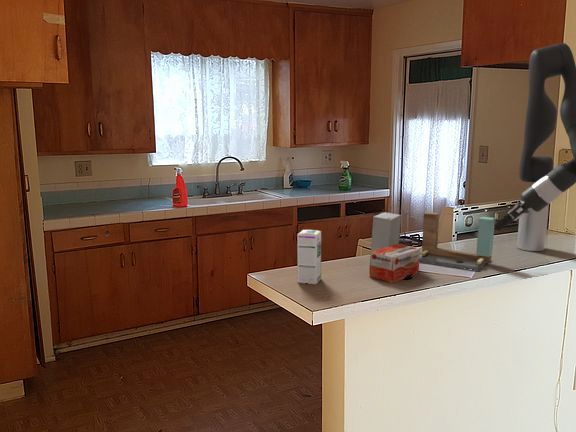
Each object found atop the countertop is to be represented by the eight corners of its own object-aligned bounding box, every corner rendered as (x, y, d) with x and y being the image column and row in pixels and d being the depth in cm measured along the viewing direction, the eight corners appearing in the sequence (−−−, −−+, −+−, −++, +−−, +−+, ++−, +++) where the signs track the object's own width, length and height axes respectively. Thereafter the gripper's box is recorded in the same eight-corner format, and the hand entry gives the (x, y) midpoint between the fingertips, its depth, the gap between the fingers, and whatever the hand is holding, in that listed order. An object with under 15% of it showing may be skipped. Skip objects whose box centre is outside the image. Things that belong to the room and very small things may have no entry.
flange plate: (427, 251, 191) (428, 247, 191) (489, 260, 180) (489, 256, 179) (411, 260, 178) (411, 256, 177) (477, 271, 166) (477, 266, 166)
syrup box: (316, 284, 152) (317, 234, 149) (296, 282, 153) (297, 232, 151) (321, 279, 157) (322, 230, 155) (301, 277, 159) (302, 228, 156)
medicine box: (391, 283, 154) (393, 256, 152) (368, 277, 159) (369, 251, 158) (419, 273, 164) (421, 247, 163) (397, 268, 170) (398, 243, 168)
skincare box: (380, 258, 181) (382, 211, 178) (400, 261, 177) (402, 214, 174) (368, 263, 174) (370, 215, 171) (389, 267, 170) (391, 217, 167)
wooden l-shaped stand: (425, 250, 187) (427, 211, 185) (491, 259, 175) (494, 218, 173) (416, 255, 180) (418, 215, 177) (484, 265, 168) (488, 223, 166)
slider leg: (479, 257, 177) (482, 216, 175) (491, 258, 175) (494, 217, 173) (471, 262, 170) (474, 220, 168) (485, 264, 168) (488, 222, 165)
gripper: (537, 181, 169) (496, 213, 177) (529, 186, 157) (485, 220, 165) (554, 199, 167) (511, 231, 175) (547, 205, 155) (502, 239, 164)
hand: (499, 226), depth 170 cm, fingers open, 8 cm apart
